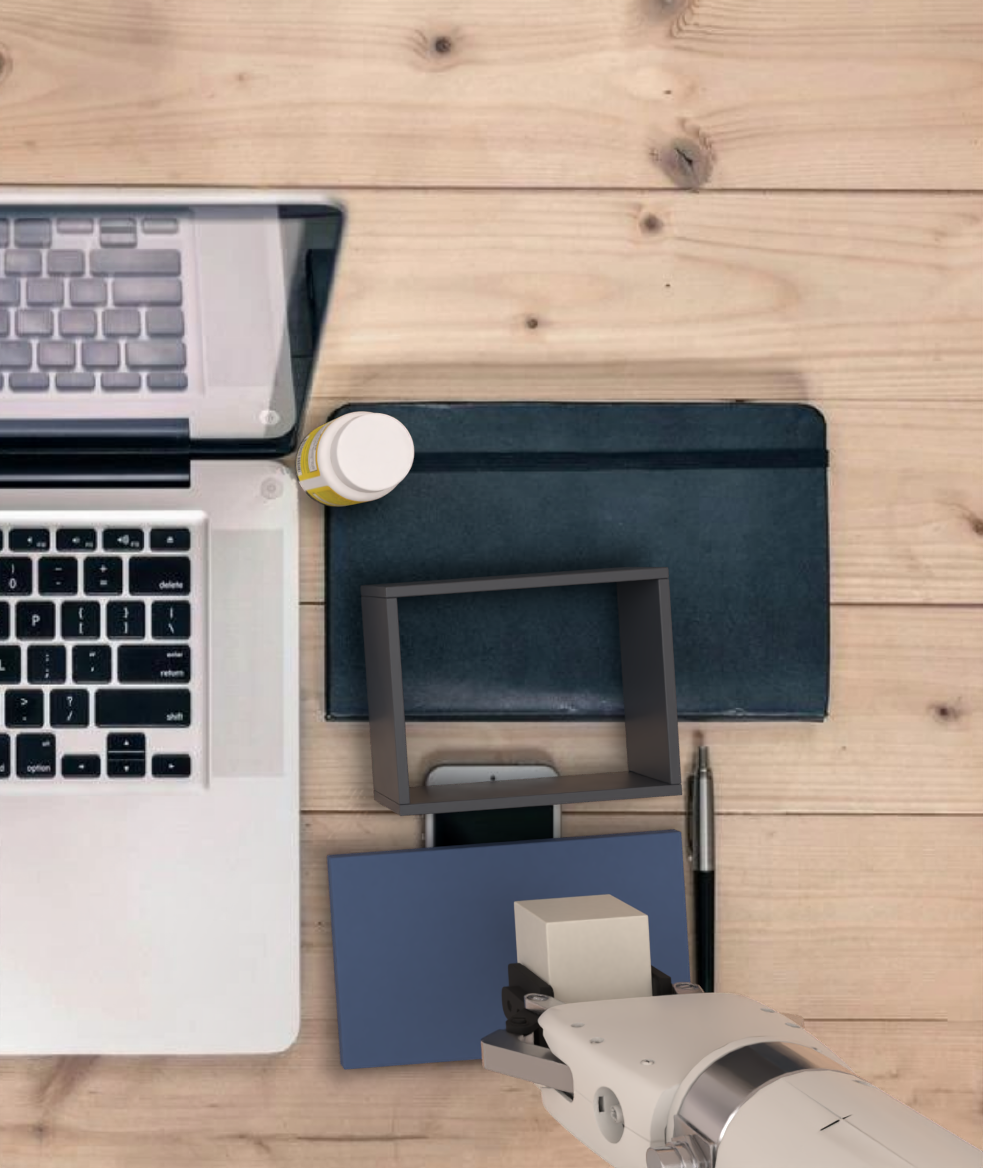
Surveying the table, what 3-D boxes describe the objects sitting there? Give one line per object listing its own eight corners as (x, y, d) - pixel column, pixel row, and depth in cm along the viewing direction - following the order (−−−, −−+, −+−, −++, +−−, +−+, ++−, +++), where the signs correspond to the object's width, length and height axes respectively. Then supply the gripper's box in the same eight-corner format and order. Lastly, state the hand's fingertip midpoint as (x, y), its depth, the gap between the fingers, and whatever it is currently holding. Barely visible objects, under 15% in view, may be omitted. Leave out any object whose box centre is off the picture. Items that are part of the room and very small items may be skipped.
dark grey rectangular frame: (632, 778, 76) (682, 795, 71) (370, 798, 76) (400, 816, 70) (619, 566, 76) (668, 567, 70) (356, 585, 76) (385, 586, 70)
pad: (681, 1033, 76) (695, 1042, 75) (337, 1060, 76) (344, 1070, 74) (668, 826, 76) (682, 831, 75) (323, 852, 76) (330, 858, 74)
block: (620, 1067, 68) (659, 1099, 64) (523, 1075, 68) (556, 1107, 64) (609, 893, 68) (648, 915, 64) (513, 900, 68) (545, 922, 64)
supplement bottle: (389, 481, 75) (439, 470, 67) (318, 522, 75) (359, 517, 67) (347, 408, 75) (393, 388, 67) (276, 449, 75) (312, 434, 67)
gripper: (564, 1267, 49) (409, 1073, 67) (1016, 1231, 49) (740, 1048, 68) (552, 1067, 49) (400, 927, 67) (1006, 1032, 49) (732, 902, 67)
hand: (572, 989), depth 67 cm, fingers closed on block, 5 cm apart
